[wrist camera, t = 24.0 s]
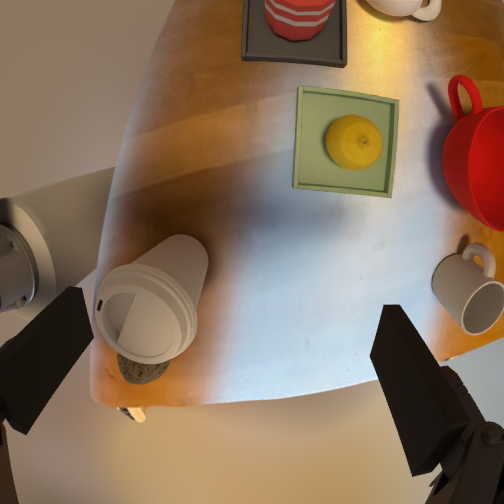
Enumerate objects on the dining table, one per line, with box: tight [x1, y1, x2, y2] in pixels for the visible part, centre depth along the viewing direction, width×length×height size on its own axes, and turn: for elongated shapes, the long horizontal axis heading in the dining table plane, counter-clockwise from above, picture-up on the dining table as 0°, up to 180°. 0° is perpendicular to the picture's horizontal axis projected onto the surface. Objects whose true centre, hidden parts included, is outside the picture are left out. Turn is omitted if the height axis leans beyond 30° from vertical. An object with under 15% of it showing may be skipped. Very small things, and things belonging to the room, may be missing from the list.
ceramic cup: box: [442, 75, 504, 232], centre depth 25 cm, size 13×17×10 cm
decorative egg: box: [117, 353, 171, 384], centre depth 38 cm, size 7×7×10 cm
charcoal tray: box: [241, 0, 347, 68], centre depth 26 cm, size 11×11×2 cm
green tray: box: [292, 86, 399, 198], centre depth 31 cm, size 11×11×2 cm
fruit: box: [326, 114, 383, 171], centre depth 28 cm, size 6×6×8 cm
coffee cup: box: [95, 234, 209, 364], centre depth 31 cm, size 10×10×15 cm
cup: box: [432, 242, 504, 335], centre depth 31 cm, size 7×10×9 cm
